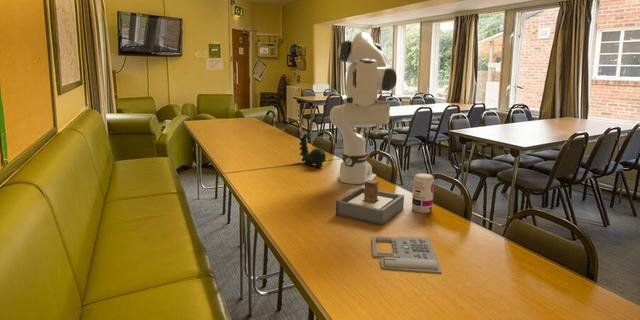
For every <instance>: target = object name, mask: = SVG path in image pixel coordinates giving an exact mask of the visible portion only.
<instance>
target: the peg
mask: <svg viewBox="0 0 640 320" xmlns="http://www.w3.org/2000/svg"><path fill="white" fill-rule="evenodd" d="M364 188H365V190H364V202H368V203H373V204H374V203H376V202H377V195H378V191H379V190H378V189H379V181H378V180H375V179H373V180H368V181H366V182H365V183H364Z"/></svg>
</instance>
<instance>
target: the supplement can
mask: <svg viewBox="0 0 640 320" xmlns="http://www.w3.org/2000/svg"><path fill="white" fill-rule="evenodd" d="M434 189H435V178H434V175H432V174H430V173H421V172H419V173H416V174H415V175H414V178H413V185H412V201H411V202H412V203H411V209H412V211H414V212H416V213H419V214H428V213H431V211H433V204H434Z"/></svg>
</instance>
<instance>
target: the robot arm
mask: <svg viewBox="0 0 640 320" xmlns="http://www.w3.org/2000/svg"><path fill="white" fill-rule="evenodd" d="M374 41H375V40H374V39H373V37H372V36H371V34H370V33H368V32H364V31H362V32H359V33H357V34H355V36H354V37H353V39H352V40H349V39H348V40H344V41H342V42H341V43H340V45H339V46H338V51H337V54H338V58H339V60H340V61H341V62H344V63H351V64H350V65H349V66H348V69H347V73H346V79H345V80H346V81H345V82H346V83H345V84H346V85H345V96H346V97H345V98H344V101H343V102H344V104H340V105H335V106H333V107H332V108H331V109H330V111H329V120H330V122H331V124H332V125H333V126H335V127H336V128H337V129H338V131H339V133H340V135H341V137H342V141H343V142H342V143H343V152H342V157H341V159H342V161H341V162H340V166H339V173H338V174H339V175H337V179H339V181H340V182H341V183H344V184H350V185H351V184H353V185H357V184H358V185H359V184H360V185H361V184H365V182H366V181H368V180H375V178H376V177H377V173H373V167H372V164H370V163H369V162H368V161H367V160H368V159H367V158H369V156H370V155H369V152H366V138H365V137H364V136H363V135H361V134H360V133H358V128H372V127H375V128H374V129H373V130H372V135H378V134H379V129H380V128H381V127H382V125H387V124H389V123H390V119H391V117H390V116H391V115H390V110H391V104H390V102H388V101H387V100H379V99H378V91H382V92H390V91H391V90H393V89H394V88H395V87H396V85H397V79H398V78H397V72H396V70H395V68H393V67H392V65H391V63H390V62H389V59H388V57H387V55H386V54H385V52H383V50H382V46H381V45H380V44H379V43H377V42H374Z"/></svg>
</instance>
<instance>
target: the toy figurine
mask: <svg viewBox="0 0 640 320" xmlns="http://www.w3.org/2000/svg"><path fill="white" fill-rule="evenodd" d="M307 139H310V135H309V134H308V133H305V134H303V135H302V136H301V137H300V138H299V141H300V142H299V143H298V144H299V146H300V147H299V150H300V151H301V152H300V153H299V155H300V156H302V158H301V162H303V163H304V165H308V166H311V165H315V167H316V168H317V169H319V168H322V167H323V163H325V162H326V159H327V157H326V156H327V155H326V152H325V151H324V150H323V149H322V148H319V147H317V148H314V149H312V150H311V151H310V152H309V150H308V146H307V145H308V142H307Z"/></svg>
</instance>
